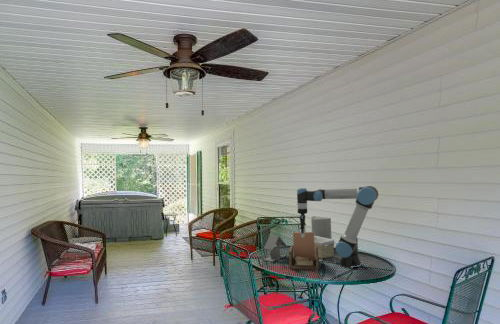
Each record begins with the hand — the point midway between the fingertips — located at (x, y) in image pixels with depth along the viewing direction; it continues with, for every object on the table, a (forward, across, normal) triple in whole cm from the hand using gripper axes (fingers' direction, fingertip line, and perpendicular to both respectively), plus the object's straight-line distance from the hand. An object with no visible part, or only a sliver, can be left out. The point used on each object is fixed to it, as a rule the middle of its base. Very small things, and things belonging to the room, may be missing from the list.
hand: (303, 235), depth 256 cm
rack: (+23, +5, 0) cm, 24 cm away
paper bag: (+24, -51, +11) cm, 57 cm away
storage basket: (+24, -26, +11) cm, 37 cm away
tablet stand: (+24, -14, -24) cm, 37 cm away
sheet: (+22, 0, 0) cm, 22 cm away
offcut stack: (+22, +10, 0) cm, 24 cm away
